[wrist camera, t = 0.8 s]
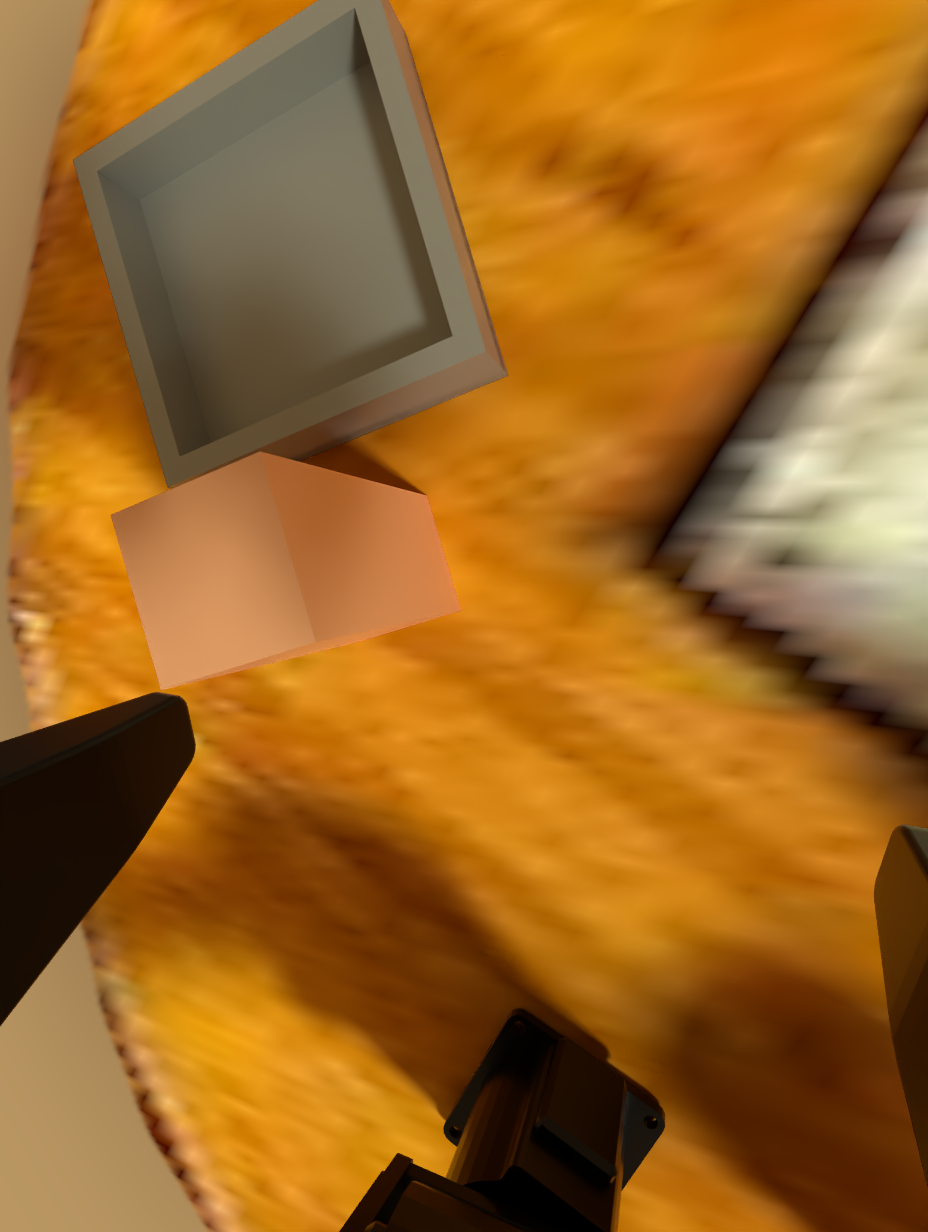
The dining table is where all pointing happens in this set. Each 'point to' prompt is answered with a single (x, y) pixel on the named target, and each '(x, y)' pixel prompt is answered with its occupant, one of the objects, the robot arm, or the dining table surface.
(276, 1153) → the dining table surface
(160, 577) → the carton
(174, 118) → the tote
